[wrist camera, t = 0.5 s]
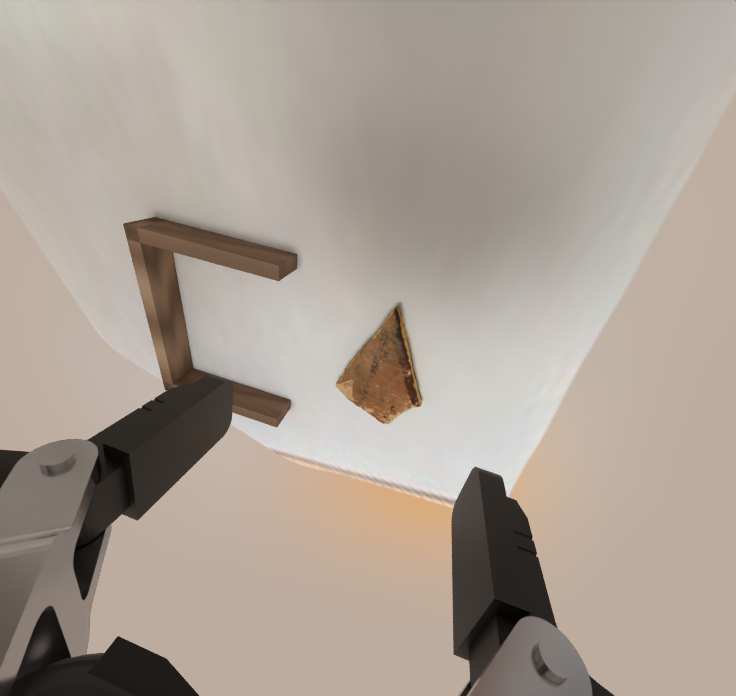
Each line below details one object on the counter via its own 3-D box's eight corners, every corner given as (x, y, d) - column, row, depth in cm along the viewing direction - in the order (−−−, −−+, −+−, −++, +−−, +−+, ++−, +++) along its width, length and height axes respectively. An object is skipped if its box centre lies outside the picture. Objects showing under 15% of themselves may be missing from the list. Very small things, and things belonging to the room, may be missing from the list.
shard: (399, 299, 26) (395, 308, 24) (472, 354, 27) (472, 366, 25) (335, 377, 32) (329, 388, 30) (396, 419, 33) (393, 432, 31)
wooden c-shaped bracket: (154, 217, 27) (123, 223, 25) (296, 254, 25) (278, 265, 23) (185, 373, 37) (165, 389, 34) (290, 408, 35) (276, 427, 33)
